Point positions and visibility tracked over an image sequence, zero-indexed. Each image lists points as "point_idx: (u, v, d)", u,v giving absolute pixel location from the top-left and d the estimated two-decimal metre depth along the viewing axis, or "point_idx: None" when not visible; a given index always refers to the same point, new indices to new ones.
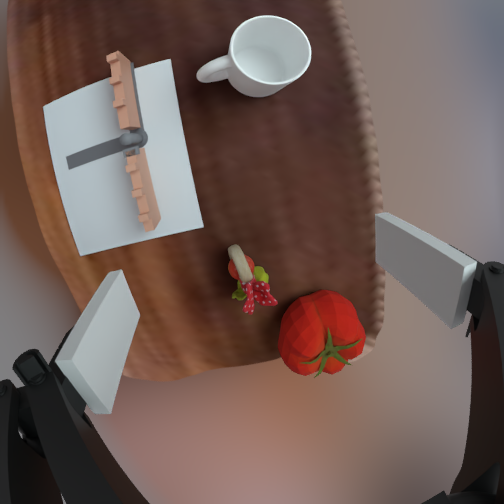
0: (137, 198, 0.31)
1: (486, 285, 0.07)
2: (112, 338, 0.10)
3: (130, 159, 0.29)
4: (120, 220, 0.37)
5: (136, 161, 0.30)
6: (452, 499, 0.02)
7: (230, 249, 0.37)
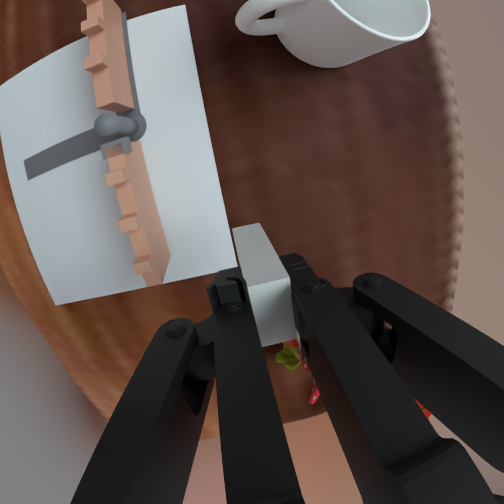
0: (129, 231, 0.18)
1: (303, 311, 0.08)
2: None
3: (114, 161, 0.16)
4: (107, 257, 0.24)
5: (125, 165, 0.16)
6: None
7: None
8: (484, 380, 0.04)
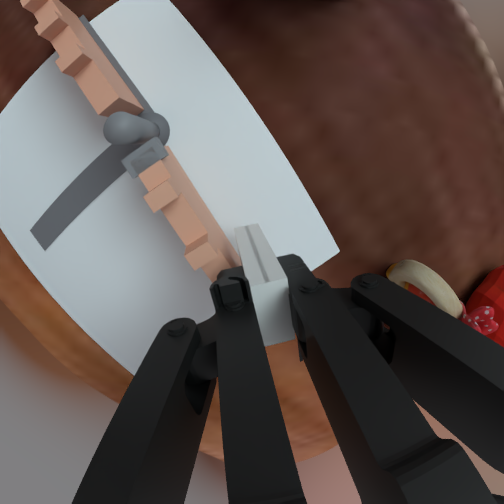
0: None
1: (300, 312, 0.08)
2: None
3: (150, 175, 0.12)
4: (180, 301, 0.20)
5: (168, 175, 0.12)
6: None
7: (411, 274, 0.17)
8: (483, 381, 0.04)
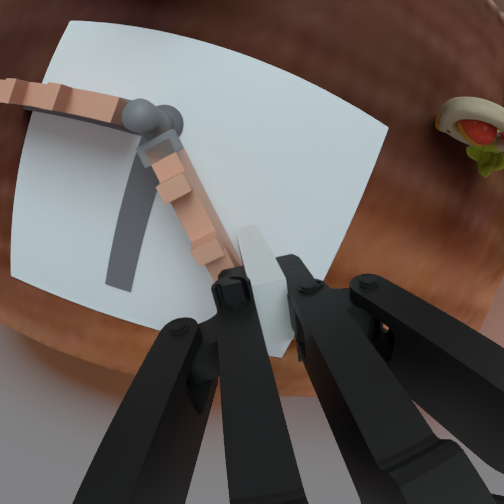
0: None
1: (299, 312, 0.08)
2: None
3: (163, 167, 0.11)
4: None
5: (181, 168, 0.12)
6: None
7: (456, 110, 0.13)
8: (482, 381, 0.04)
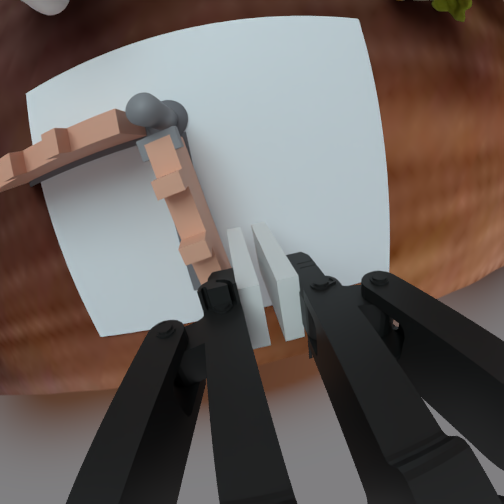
0: None
1: (311, 308, 0.08)
2: None
3: (161, 163, 0.11)
4: (341, 173, 0.18)
5: (178, 166, 0.12)
6: None
7: None
8: (489, 378, 0.04)
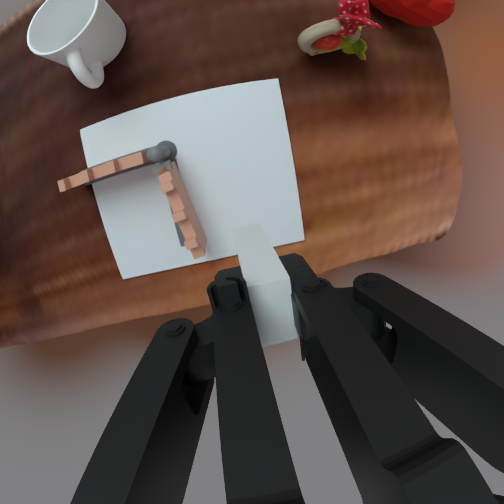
0: (179, 222, 0.28)
1: (303, 311, 0.08)
2: None
3: (163, 177, 0.26)
4: (264, 177, 0.32)
5: (171, 178, 0.26)
6: None
7: (302, 43, 0.23)
8: (484, 381, 0.04)
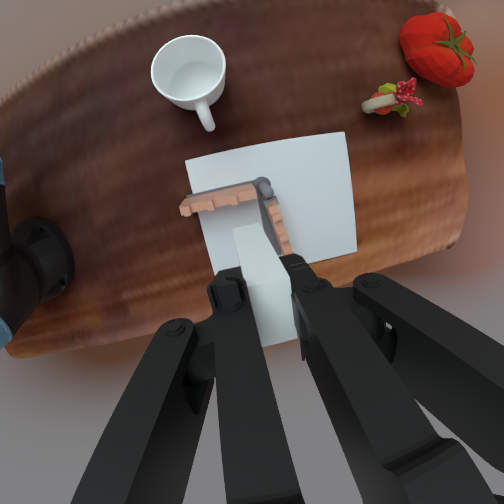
0: (281, 241, 0.39)
1: (303, 311, 0.08)
2: None
3: (272, 209, 0.37)
4: (332, 206, 0.43)
5: (278, 210, 0.37)
6: None
7: (366, 109, 0.34)
8: (484, 380, 0.04)
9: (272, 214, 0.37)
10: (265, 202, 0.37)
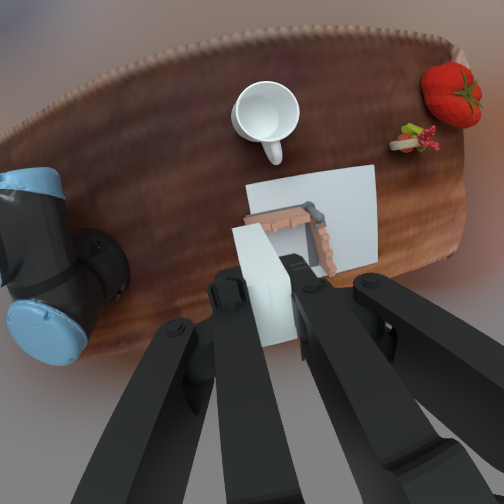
0: (326, 256, 0.47)
1: (303, 311, 0.08)
2: None
3: (321, 230, 0.45)
4: (361, 226, 0.52)
5: (325, 231, 0.45)
6: None
7: (394, 149, 0.43)
8: (484, 380, 0.04)
9: (321, 234, 0.45)
10: (316, 225, 0.45)
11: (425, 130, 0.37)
